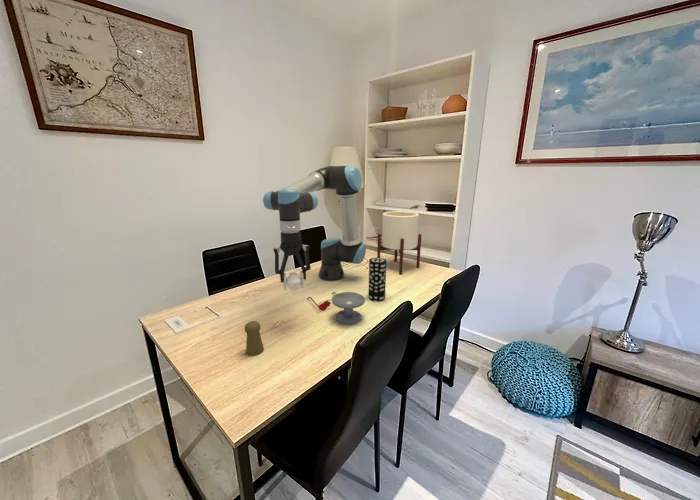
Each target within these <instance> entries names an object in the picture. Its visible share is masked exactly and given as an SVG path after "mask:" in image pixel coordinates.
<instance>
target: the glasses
mask: <svg viewBox="0 0 700 500" xmlns="http://www.w3.org/2000/svg"><path fill="white" fill-rule="evenodd" d="M331 294H332V295H333V294H334V295H336V294H337V292H336V291H335V292H334V291H333V292H331ZM306 299H307V300H308V299H310V300H311V301H312V302H313V303H314V305H316V307H317V308H318V310H320V311H322V312H324V311H326V310H327V309H328V307H330V306H331V304H332V301H331V299H328V300H325V301H321V302H319V303H318V304H317V303H316V302H315V301H314V299H313V298H312V297H311V296H309V297H307V298H306ZM330 301H331V302H330Z"/></svg>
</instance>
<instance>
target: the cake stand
mask: <svg viewBox="0 0 700 500" xmlns="http://www.w3.org/2000/svg"><path fill="white" fill-rule="evenodd" d="M365 303H366V301H365V297H364V295H362V294H360V293H358V292H352V291H351V292H350V291H345V292H339V293H336V294H334V295H333V296H332V297H331V304H332V305H334V306H335V307H337V308H340V309H342V310H339V311H338V312H337V313H336V314H335V320H336V321H337V322H338V323H339V324H342V325H354V324H357V323H359V322H360V321H361V320H362V314H361V313H360V312H359V311H357V310H354V309H356V308H360V307H362V306H363V305H364V304H365Z"/></svg>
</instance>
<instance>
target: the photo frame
mask: <svg viewBox="0 0 700 500" xmlns="http://www.w3.org/2000/svg"><path fill="white" fill-rule="evenodd" d="M205 307H206V308H209V309H210V310H211V311H212V312H214V313H215V314H217V317H214V318H210V319H208V320H205V321H203V322H202V321H201V322H199V323H197V324H194V325H192V326H190V325H189V324H188V323H187V322H186V321H184V319H183V318H182V317H183V316H182V315H184V316H186V315H185V314H187V315H189V314H188V313H190V314H192V313H191V312H193V313H195V312H194V311H196V312H198V311H197V310H199V311H201V310H200V309H202V310H204V309H203V308H205ZM206 308H205V309H206ZM179 316H181V317H179ZM221 318H223V316H222V315H221V314H220V313H218V312H217V311H216V310H214V308H213V307H211V306H209V305H206V306H203V307H200V308H197V309H194V310H191V311H188V312H184V313H181V314H179V315H175V316H172V317H169V318H167V319H164V322H165V323H166V324H167V326H168V327H170V329H171V330H172V331H173V332H174V333H175V334H176V335H177V334H180V333H184V332H185V331H189V330H191V329H194V328H197V327H199V326H201V325H205V324H207V323H210V322H213V321H215V319H216V320H217V319H218V320H219V319H221Z"/></svg>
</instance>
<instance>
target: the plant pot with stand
mask: <svg viewBox="0 0 700 500" xmlns="http://www.w3.org/2000/svg"><path fill="white" fill-rule="evenodd" d="M419 217H420V214H419V213H417V212H413V211H405V210H403V211H400V210H396V211H395V210H393V211H384V212H383V213H382V222H381V223H382V229H381V233H377V248H376V249H377V251H376V252H377V253H376V256H377V257H376V258H381V251H394V255H393V257H394V258H393V261H394V262H395V263H397V262H398V254H399V264H398V265H399V267H398V275H399V276H402V275H403V269H404V268H403V265H404V251H417V252H416V264H415V268H416V269H420V265H421V264H420V263H421V262H420V260H421V259H420V258H421V248H422V247H421V245H422V233H419V232H418V231H419V219H420V218H419ZM398 252H399V253H398Z"/></svg>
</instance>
